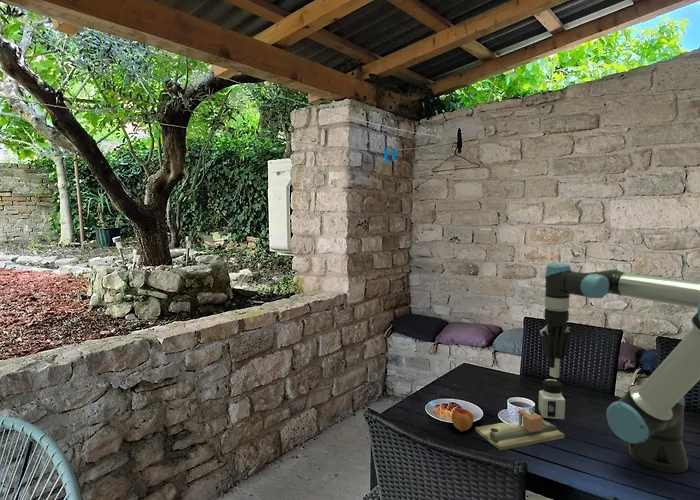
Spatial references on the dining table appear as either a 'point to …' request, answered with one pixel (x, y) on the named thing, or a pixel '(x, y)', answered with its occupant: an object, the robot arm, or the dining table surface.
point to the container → (552, 400)
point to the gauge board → (517, 435)
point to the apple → (462, 419)
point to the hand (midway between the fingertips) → (554, 376)
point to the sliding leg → (530, 421)
